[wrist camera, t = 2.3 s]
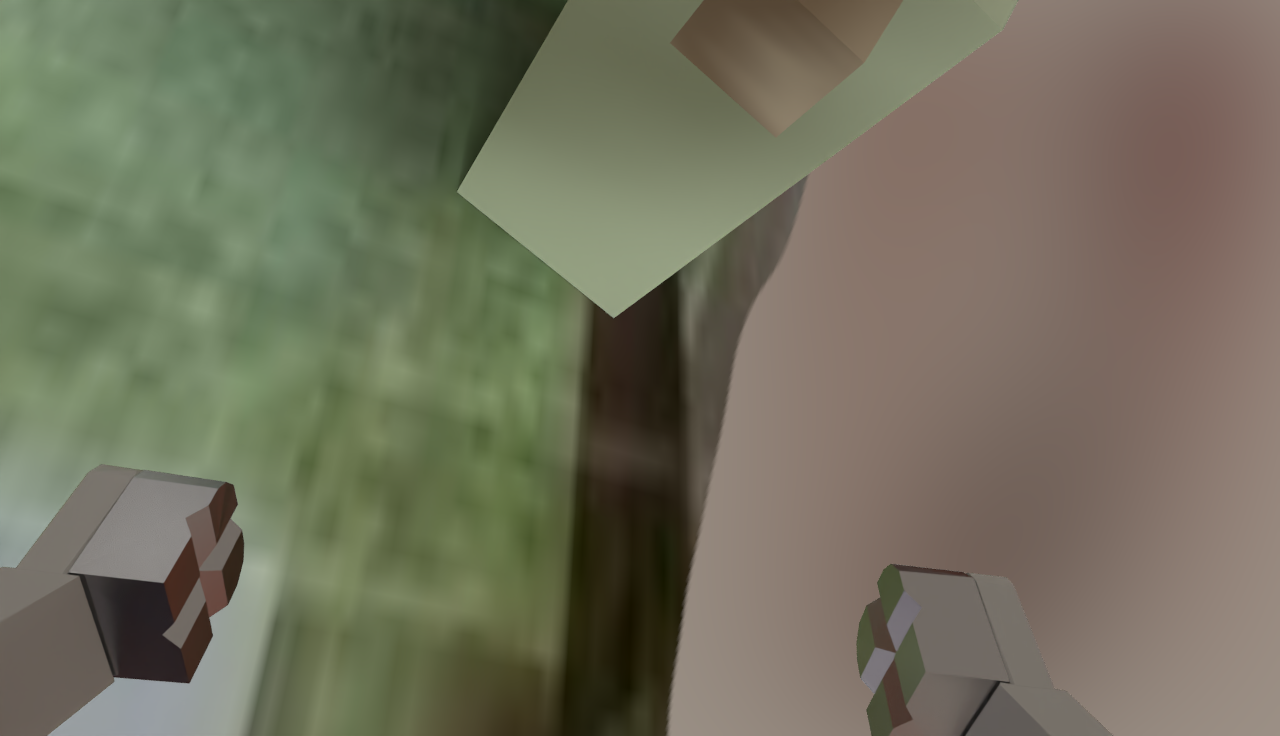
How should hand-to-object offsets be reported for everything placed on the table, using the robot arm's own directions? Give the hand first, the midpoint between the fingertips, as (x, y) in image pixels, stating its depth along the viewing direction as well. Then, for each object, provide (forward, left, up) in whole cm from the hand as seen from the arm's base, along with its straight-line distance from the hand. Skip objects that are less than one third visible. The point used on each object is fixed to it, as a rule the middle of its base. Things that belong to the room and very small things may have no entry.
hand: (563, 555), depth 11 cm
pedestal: (-1, +24, -30) cm, 38 cm away
